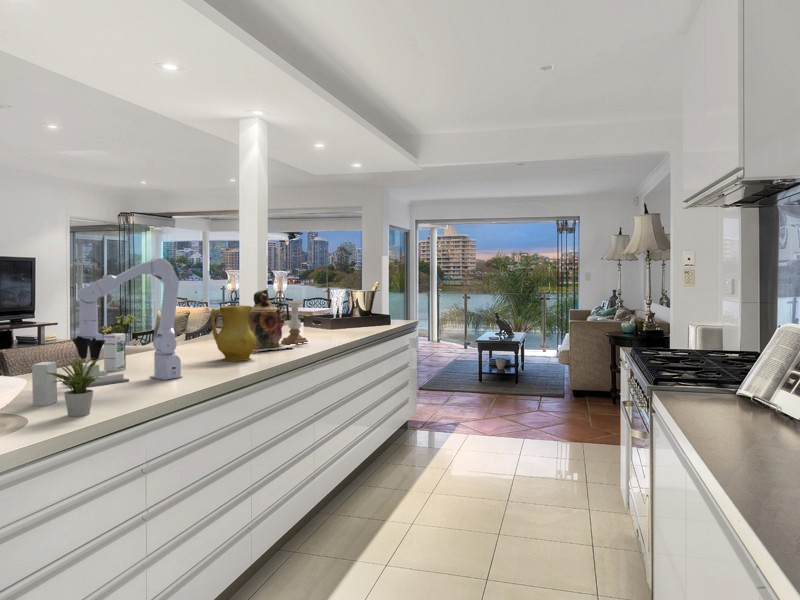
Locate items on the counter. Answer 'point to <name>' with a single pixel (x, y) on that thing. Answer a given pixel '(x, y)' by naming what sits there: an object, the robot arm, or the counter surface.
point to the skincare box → (44, 383)
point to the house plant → (78, 388)
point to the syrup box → (114, 352)
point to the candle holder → (294, 325)
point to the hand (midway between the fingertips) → (88, 359)
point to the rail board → (106, 379)
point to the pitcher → (234, 333)
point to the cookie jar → (266, 323)
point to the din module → (95, 370)
